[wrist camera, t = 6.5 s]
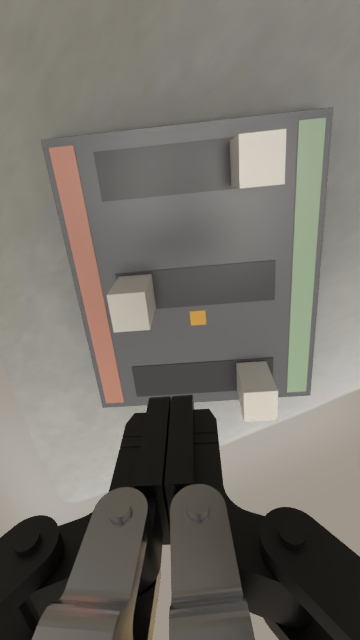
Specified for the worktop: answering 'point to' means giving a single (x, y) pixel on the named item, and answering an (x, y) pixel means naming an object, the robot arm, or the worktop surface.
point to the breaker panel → (195, 253)
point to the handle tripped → (132, 303)
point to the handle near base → (258, 159)
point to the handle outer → (256, 391)
